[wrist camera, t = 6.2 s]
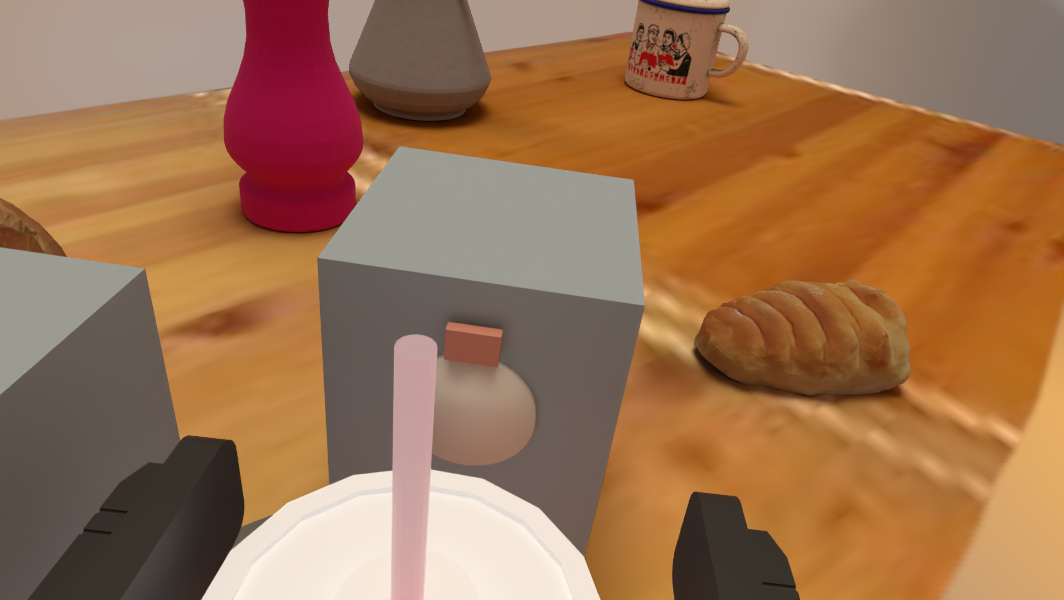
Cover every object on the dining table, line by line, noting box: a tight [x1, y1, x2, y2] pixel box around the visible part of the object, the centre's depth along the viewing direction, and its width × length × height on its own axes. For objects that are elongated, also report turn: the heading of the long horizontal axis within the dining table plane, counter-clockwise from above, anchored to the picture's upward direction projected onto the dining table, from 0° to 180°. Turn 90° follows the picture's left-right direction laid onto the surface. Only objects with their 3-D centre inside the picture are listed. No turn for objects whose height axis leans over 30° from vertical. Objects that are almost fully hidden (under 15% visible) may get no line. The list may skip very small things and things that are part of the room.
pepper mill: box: [224, 0, 363, 232], centre depth 35 cm, size 7×7×20 cm
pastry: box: [694, 279, 911, 396], centre depth 33 cm, size 9×7×4 cm
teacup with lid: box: [625, 0, 748, 100], centre depth 70 cm, size 12×9×12 cm
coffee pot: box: [349, 0, 491, 121], centre depth 54 cm, size 21×12×15 cm, turn 65°
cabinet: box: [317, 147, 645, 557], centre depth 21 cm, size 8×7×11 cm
